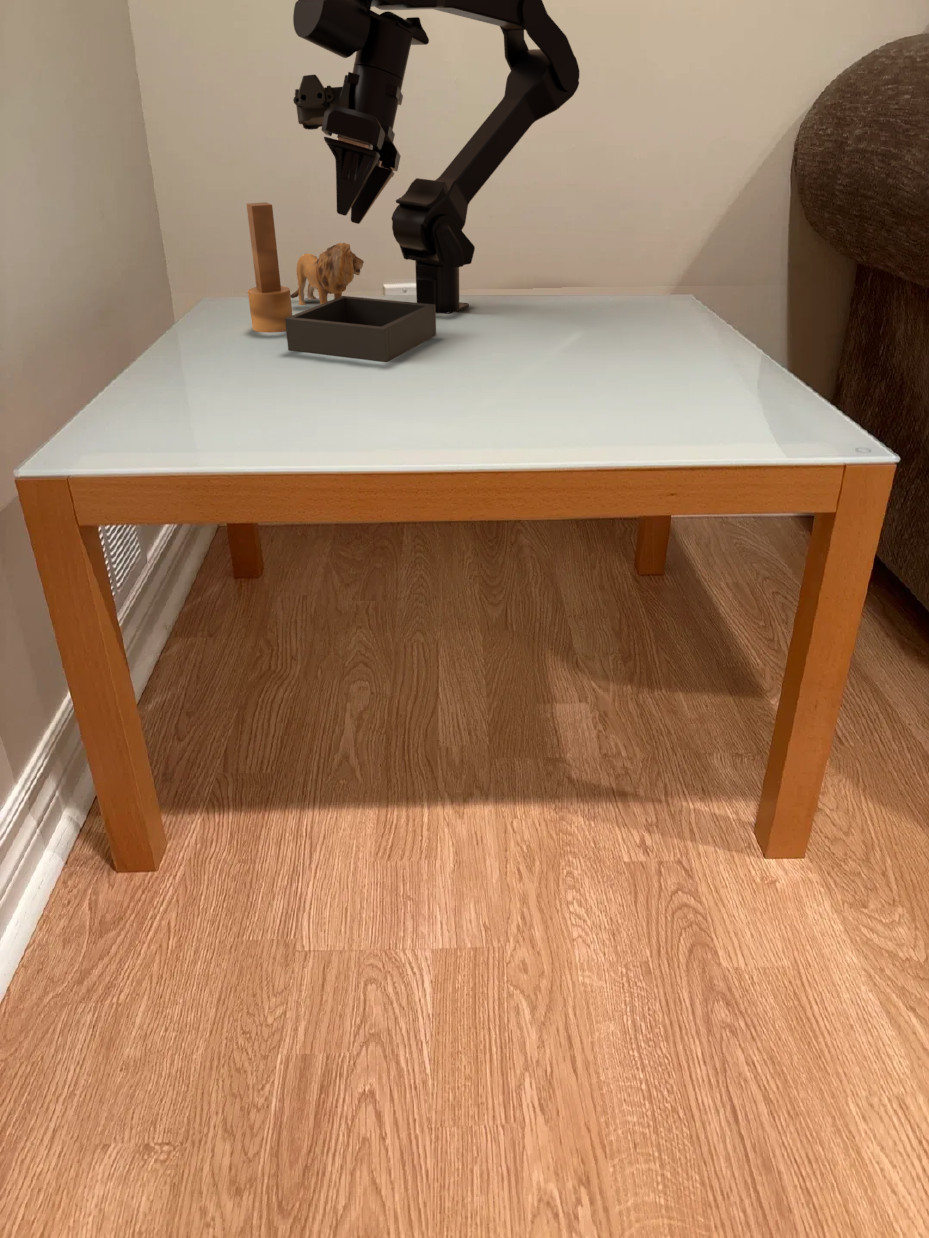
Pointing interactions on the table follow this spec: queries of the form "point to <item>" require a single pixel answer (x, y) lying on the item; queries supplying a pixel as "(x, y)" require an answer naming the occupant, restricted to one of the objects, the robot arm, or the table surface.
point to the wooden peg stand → (266, 273)
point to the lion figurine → (327, 272)
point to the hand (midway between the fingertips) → (348, 219)
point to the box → (361, 328)
